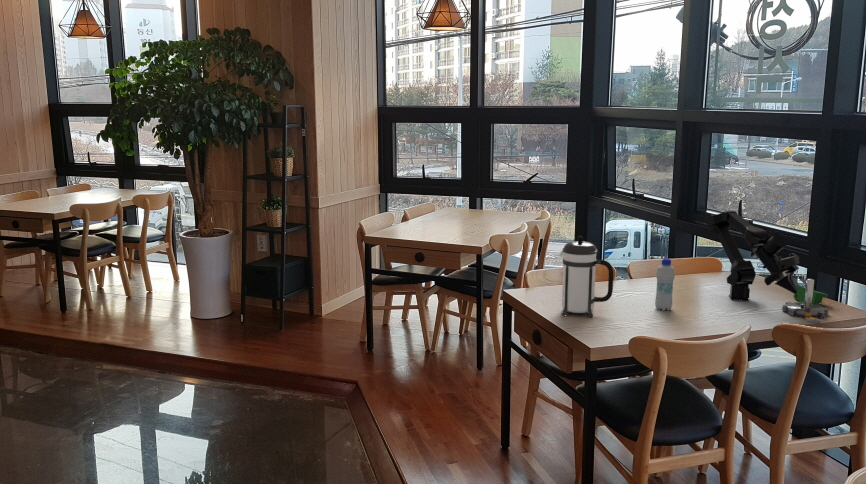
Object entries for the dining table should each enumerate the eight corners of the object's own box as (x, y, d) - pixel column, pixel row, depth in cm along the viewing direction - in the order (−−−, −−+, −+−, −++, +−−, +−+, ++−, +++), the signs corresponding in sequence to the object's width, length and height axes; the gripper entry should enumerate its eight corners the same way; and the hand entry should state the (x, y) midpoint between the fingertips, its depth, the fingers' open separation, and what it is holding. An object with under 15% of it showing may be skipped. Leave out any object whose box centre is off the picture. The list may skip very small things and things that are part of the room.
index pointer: (807, 322, 258) (807, 319, 258) (805, 319, 261) (805, 316, 261) (819, 322, 257) (819, 320, 257) (817, 320, 261) (817, 317, 260)
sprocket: (809, 320, 259) (813, 283, 256) (773, 309, 273) (776, 274, 270) (836, 314, 266) (840, 278, 263) (800, 304, 279) (803, 269, 276)
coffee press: (576, 321, 261) (579, 241, 255) (550, 310, 275) (552, 234, 269) (612, 315, 269) (616, 237, 263) (585, 304, 282) (588, 230, 276)
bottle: (672, 307, 277) (675, 257, 273) (672, 312, 271) (675, 261, 267) (654, 305, 280) (657, 256, 276) (653, 310, 273) (656, 260, 269)
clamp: (818, 315, 281) (832, 297, 276) (806, 313, 279) (819, 295, 275) (802, 296, 290) (815, 279, 286) (790, 294, 289) (803, 276, 284)
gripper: (776, 251, 260) (804, 286, 255) (795, 243, 273) (823, 276, 267) (752, 268, 268) (779, 302, 262) (772, 259, 280) (799, 292, 274)
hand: (796, 293), depth 266 cm, fingers closed
